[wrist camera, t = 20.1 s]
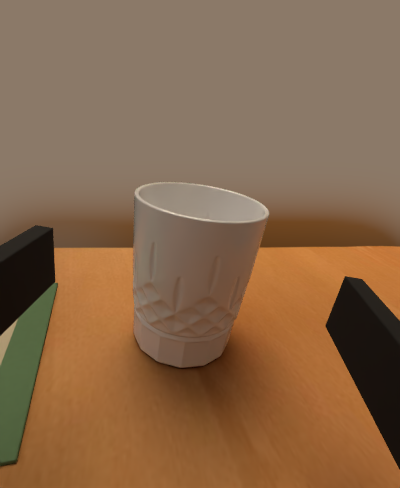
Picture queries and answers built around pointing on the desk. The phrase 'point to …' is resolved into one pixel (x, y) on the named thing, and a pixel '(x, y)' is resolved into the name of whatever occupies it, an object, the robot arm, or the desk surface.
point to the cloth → (21, 371)
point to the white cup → (191, 268)
